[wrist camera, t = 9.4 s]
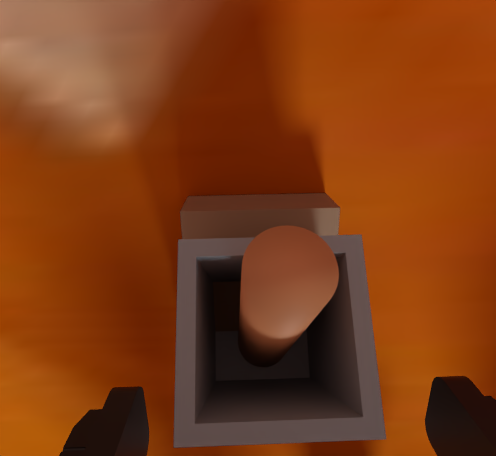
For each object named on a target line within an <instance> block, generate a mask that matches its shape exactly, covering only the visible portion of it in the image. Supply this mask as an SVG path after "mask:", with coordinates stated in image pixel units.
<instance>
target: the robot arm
mask: <svg viewBox="0 0 496 456" xmlns="http://www.w3.org/2000/svg"><path fill="white" fill-rule="evenodd" d="M425 426H426V432H427V435H428V438H429V441H430V443H431V445H432V447H433V449H434V450H435V452H436V454H437V456H496V400H495V399H494V398H492V397H491V396H484V395H483V394H482V393H481V392H480V391H479V390H478V388H477V387H476V386H475V385H474V384H473V382H472V381H471V380H470V379H469V378H467V377H465V376H449V377H436V378H434V380H433V382H432V387H431V392H430V397H429V402H428V407H427V412H426V418H425ZM148 443H149V426H148V419H147V413H146V406H145V399H144V392H143V388H142V387H114V388H112V389H111V391H110V393H109V395H108V397H107V400H106V402H105V404H104V406H103V409H99V410H89V411H88V413H87V414H86V415H85V416H84V417H83V418H82V419H81V420H80V421H79V422H78V423H77V424H76V425H75V426H74V427H73V429H72V431H71V433H70V435H69V437H68V439H67V441H66V443H65V445H64V447H63V452H61V453H60V455H59V456H146V455H147V450H148Z"/></svg>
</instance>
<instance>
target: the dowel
mask: <svg viewBox="0 0 496 456" xmlns="http://www.w3.org/2000/svg"><path fill="white" fill-rule="evenodd" d="M338 279H339V269H338V264H337V260H336V257H335V255H334V253H333V251H332V250H331V248H330V247H329V246H328V244H327V243H326V242H325V241H324V240H323V239H322V238H321V237H319V236H318V235H317V234H315V233H313V232H312V231H309V230H307V229H305V228H301V227H297V226H289V225H285V226H277V227H273V228H270V229H267V230H265V231H263V232H262V233H260V234H259V235H257V236H256V237H255V238H254V239H253V240H252V241H251V242H250V244H249V245H248V247H247V249H246V250H245V253H244V256H243V260H242V271H241V291H240V312H239V332H238V346H239V350H240V352H241V354H242V356H243V357H244V358H245V360H246V361H248V362H249V363H250V364H252V365H254V366H257V367H269V366H272V365H274V364H276V363H278V362H279V361H280V360H281V359H282V358H283V356H284V355H285V354H286V353H287V352H288V350H289V349H290V348H291V347H292V345H293V344H294V343H295V342H296V341H297V339H298V338H299V337H300V336H301V335H302V333H303V332H304V331H305V330H306V328H307V327H308V326H309V325H310V324H311V322H312V321H313V320H314V319H315V318H316V316H317V315H318V314H319V313H320V311H321V310H322V309H323V308H324V307H325V305H326V304H327V303H328V302H329V300H330V299H331V298H332V296H333V295H334V293H335V291H336V288H337V285H338Z"/></svg>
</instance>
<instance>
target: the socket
mask: <svg viewBox="0 0 496 456" xmlns="http://www.w3.org/2000/svg"><path fill="white" fill-rule="evenodd" d="M339 215H340V207H339V206H338V205H337V204H336V203H335V202H334V201H333V200H332V199H331V198H330V197H329V196H328V195H327V194H326V193H301V194H257V195H214V196H188V197H187V199H186V201H185V203H184V205H183V207H182V209H181V211H180V217H181V229H182V239H178V273H177V317H176V362H175V406H174V448H180V447H205V446H230V445H255V444H280V443H305V442H330V441H355V440H380V439H386V434H385V426H384V418H383V409H382V401H381V393H380V384H379V376H378V368H377V360H376V351H375V343H374V335H373V326H372V318H371V310H370V302H369V293H368V285H367V277H366V268H365V260H364V252H363V243H362V235H338V229H339ZM285 225H289V226H297V227H301V228H305V229H307V230H309V231H312V232H313V233H315V234H317V235H318V236H319V237H321V238H322V239H323V240H324V241H325V242H326V243H327V244H328V246H329V247H330V248H331V250H332V251H333V253H334V255H335V257H336V260H337V264H338V269H339V279H338V285H337V288H336V291H335V293H334V295H333V296H332V298H331V299H330V300H329V302H328V303H327V304H326V305H325V307H324V308H323V309H322V310H321V311H320V313H319V314H318V315H317V316H316V318H315V319H314V320H313V321H312V322H311V324H310V325H309V326H308V327H307V328H306V330H305V331H304V332H303V333H302V335H301V336H300V337H299V338H298V339H297V341H296V342H295V343H294V344H293V345H292V347H291V348H290V349H289V350H288V352H287V353H286V354H285V355H284V356H283V358H282V359H281V360H280V361H279V362H278V363H276V364H274V365H272V366H269V367H257V366H254V365H252V364H250V363H249V362H248V361H246V360H245V358H244V357H243V356H242V354H241V352H240V350H239V346H238V332H239V312H240V291H241V271H242V260H243V256H244V253H245V250H246V249H247V247H248V245H249V244H250V242H251V241H252V240H253V239H254V238H255V237H256V236H257V235H259V234H260V233H262V232H263V231H265V230H267V229H270V228H273V227H277V226H285Z"/></svg>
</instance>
